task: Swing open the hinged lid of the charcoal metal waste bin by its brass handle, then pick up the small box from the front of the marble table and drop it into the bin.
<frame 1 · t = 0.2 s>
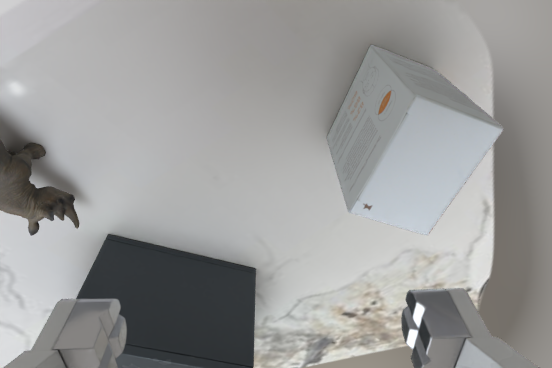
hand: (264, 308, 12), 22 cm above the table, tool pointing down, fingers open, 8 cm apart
rhino figurine: (23, 150, 33), on the table
bin: (171, 294, 42), on the table
small box: (377, 103, 32), on the table
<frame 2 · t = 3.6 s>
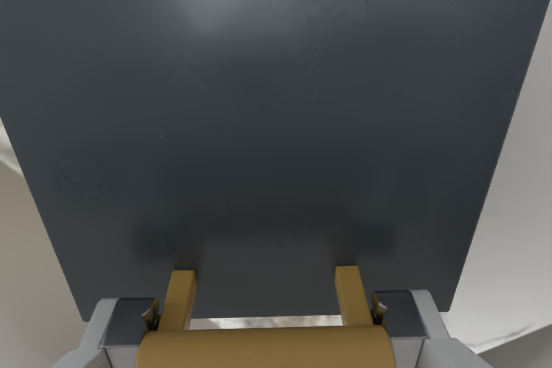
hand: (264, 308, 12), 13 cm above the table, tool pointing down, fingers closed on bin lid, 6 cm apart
bin lid: (259, 134, 8), point 13 cm above the table, hinge at 0.1°, touching gripper
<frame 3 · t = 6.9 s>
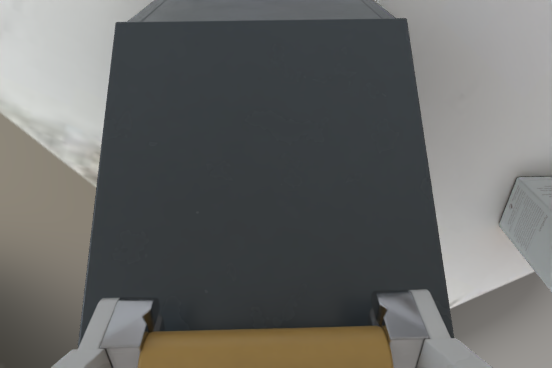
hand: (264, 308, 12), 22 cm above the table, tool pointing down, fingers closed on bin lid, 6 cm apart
bin lid: (264, 176, 13), point 18 cm above the table, hinge at 51.5°, touching gripper
bin: (265, 91, 31), on the table
small box: (547, 199, 38), on the table
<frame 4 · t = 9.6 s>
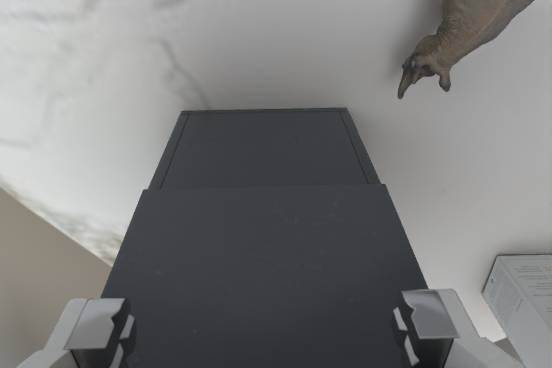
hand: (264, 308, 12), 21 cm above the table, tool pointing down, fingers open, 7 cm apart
bin lid: (264, 280, 14), point 19 cm above the table, hinge at 86.9°
bin: (266, 189, 34), on the table
small box: (526, 272, 41), on the table
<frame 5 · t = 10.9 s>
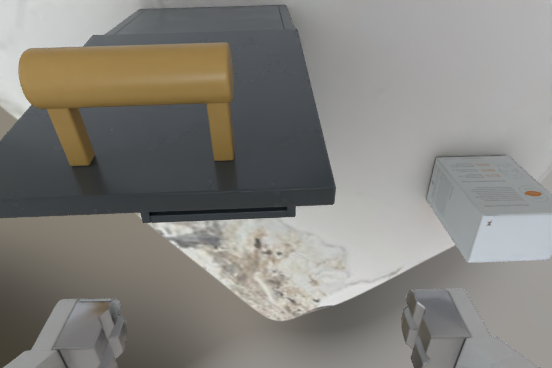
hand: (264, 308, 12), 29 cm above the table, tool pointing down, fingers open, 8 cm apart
bin lid: (170, 53, 18), point 19 cm above the table, hinge at 83.5°
bin: (220, 89, 38), on the table
small box: (464, 176, 45), on the table
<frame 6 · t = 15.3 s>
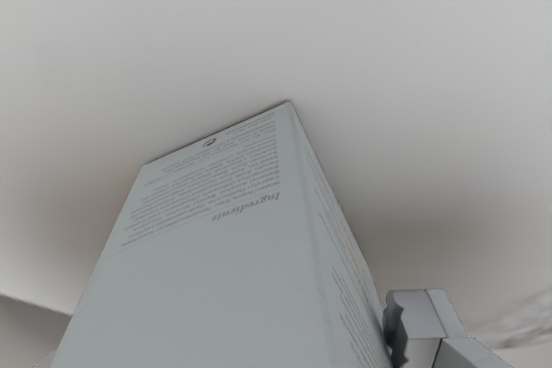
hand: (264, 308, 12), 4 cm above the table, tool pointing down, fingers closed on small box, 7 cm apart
small box: (266, 215, 15), on the table, touching gripper
when the fingers open (12 cm above the table, at t = 24.7 s): small box drops 7 cm, resting on bin.
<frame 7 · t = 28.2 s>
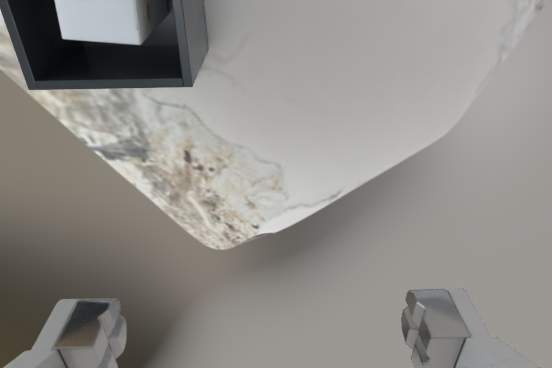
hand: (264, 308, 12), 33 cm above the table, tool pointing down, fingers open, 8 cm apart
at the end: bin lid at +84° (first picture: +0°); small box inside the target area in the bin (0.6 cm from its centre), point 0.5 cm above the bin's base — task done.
